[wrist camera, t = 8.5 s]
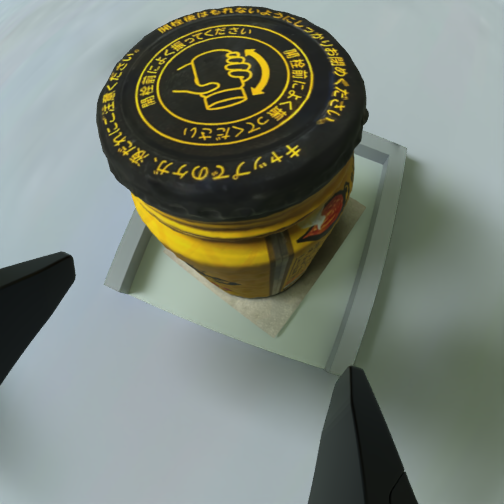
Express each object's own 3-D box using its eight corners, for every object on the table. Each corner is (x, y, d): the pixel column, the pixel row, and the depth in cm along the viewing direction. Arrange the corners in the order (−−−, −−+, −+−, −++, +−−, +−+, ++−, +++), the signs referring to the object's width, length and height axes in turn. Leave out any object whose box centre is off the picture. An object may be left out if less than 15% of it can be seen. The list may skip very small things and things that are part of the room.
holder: (339, 372, 15) (348, 378, 14) (118, 288, 17) (103, 284, 15) (396, 162, 18) (407, 148, 16) (204, 103, 19) (200, 86, 18)
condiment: (163, 252, 17) (10, 131, 5) (258, 139, 18) (247, -50, 6) (273, 338, 15) (295, 382, 4) (364, 209, 17) (480, 51, 5)
